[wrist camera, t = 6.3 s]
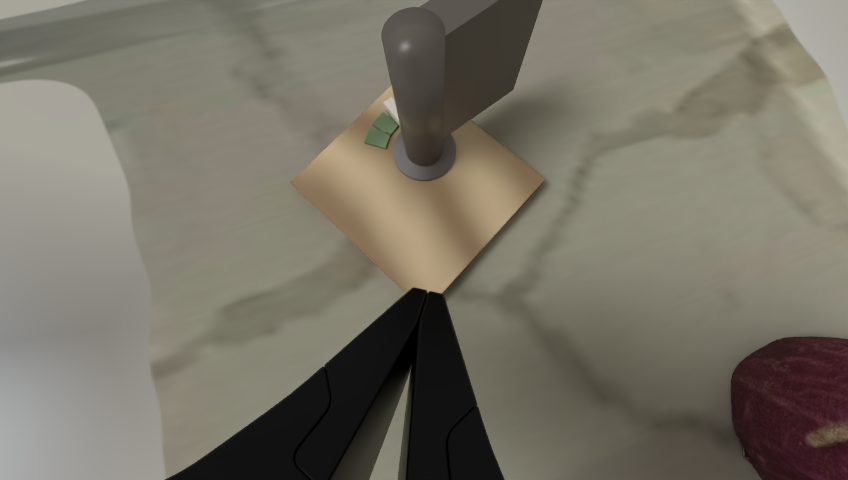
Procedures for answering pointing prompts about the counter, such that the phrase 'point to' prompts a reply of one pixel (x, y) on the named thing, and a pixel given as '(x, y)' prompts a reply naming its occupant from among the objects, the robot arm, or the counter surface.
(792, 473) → the vegetable
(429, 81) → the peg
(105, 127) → the counter surface
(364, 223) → the wooden board
